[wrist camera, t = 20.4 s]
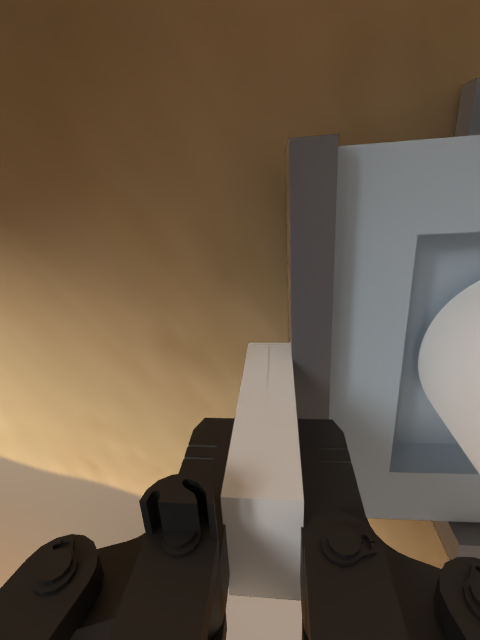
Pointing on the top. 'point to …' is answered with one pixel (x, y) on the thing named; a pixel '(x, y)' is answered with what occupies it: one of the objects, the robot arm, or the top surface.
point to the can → (455, 369)
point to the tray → (382, 307)
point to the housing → (457, 537)
